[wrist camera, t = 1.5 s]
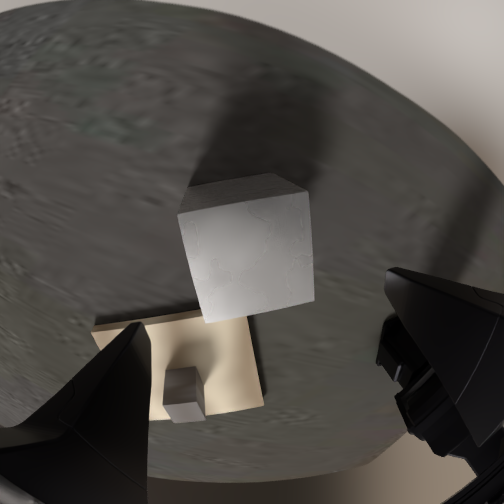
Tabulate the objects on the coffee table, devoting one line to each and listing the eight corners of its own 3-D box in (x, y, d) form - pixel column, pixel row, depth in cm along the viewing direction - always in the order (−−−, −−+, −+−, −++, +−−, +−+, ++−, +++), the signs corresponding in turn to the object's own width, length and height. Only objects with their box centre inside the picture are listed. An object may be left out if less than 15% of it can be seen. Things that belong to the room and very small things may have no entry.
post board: (243, 300, 21) (254, 342, 17) (262, 398, 27) (271, 435, 22) (94, 325, 20) (76, 365, 16) (147, 413, 25) (144, 449, 21)
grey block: (271, 172, 18) (308, 191, 12) (280, 249, 20) (314, 300, 14) (187, 187, 17) (176, 214, 11) (203, 264, 20) (205, 323, 13)
